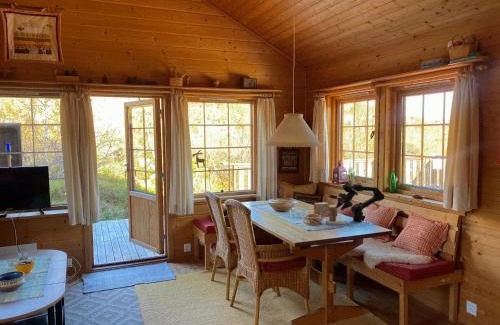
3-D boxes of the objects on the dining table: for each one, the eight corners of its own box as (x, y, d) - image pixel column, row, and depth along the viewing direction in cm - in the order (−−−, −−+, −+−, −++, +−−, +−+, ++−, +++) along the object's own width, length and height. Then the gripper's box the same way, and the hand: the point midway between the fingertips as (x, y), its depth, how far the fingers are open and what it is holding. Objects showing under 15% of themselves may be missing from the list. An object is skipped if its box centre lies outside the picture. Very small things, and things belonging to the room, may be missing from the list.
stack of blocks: (334, 214, 364) (334, 201, 363) (337, 216, 358) (337, 203, 357) (313, 215, 360) (314, 202, 358) (316, 216, 353) (316, 203, 352)
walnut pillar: (333, 221, 332) (333, 207, 331) (335, 222, 328) (336, 208, 327) (329, 221, 331) (329, 207, 330) (331, 222, 327) (332, 208, 326)
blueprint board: (346, 222, 334) (346, 219, 334) (349, 225, 323) (349, 222, 323) (325, 221, 334) (325, 219, 333) (328, 225, 323) (328, 222, 322)
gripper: (338, 188, 340) (327, 201, 338) (349, 191, 322) (337, 204, 320) (347, 196, 342) (335, 209, 340) (357, 199, 324) (345, 213, 322)
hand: (338, 209), depth 331 cm, fingers open, 9 cm apart
